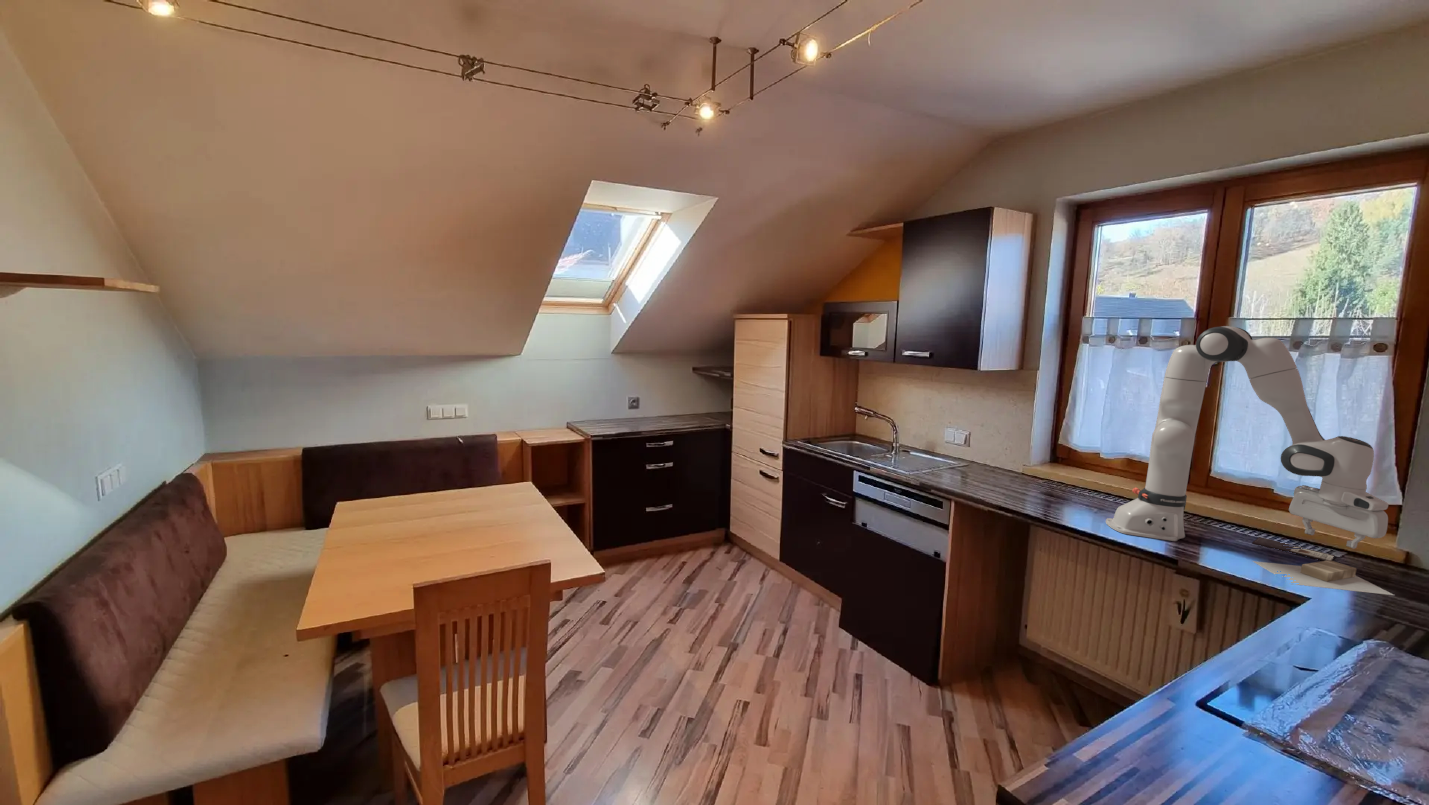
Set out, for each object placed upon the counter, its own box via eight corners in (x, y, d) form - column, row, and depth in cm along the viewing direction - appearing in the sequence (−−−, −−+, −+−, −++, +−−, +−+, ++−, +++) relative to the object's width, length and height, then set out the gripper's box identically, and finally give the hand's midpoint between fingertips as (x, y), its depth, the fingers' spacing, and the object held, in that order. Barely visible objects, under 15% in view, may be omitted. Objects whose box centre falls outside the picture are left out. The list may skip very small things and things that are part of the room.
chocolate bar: (1259, 536, 202) (1334, 555, 188) (1259, 539, 203) (1334, 558, 188) (1252, 542, 197) (1329, 561, 183) (1251, 544, 197) (1328, 564, 183)
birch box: (1329, 560, 177) (1302, 564, 173) (1356, 568, 171) (1328, 573, 167) (1328, 568, 177) (1300, 573, 173) (1354, 577, 172) (1326, 582, 168)
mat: (1290, 585, 166) (1291, 584, 165) (1251, 562, 181) (1252, 561, 181) (1394, 596, 161) (1394, 595, 161) (1345, 572, 176) (1345, 570, 176)
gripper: (1289, 483, 177) (1279, 527, 180) (1382, 507, 158) (1369, 556, 161) (1303, 482, 179) (1292, 526, 182) (1396, 506, 160) (1383, 554, 163)
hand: (1329, 540), depth 171 cm, fingers open, 8 cm apart
